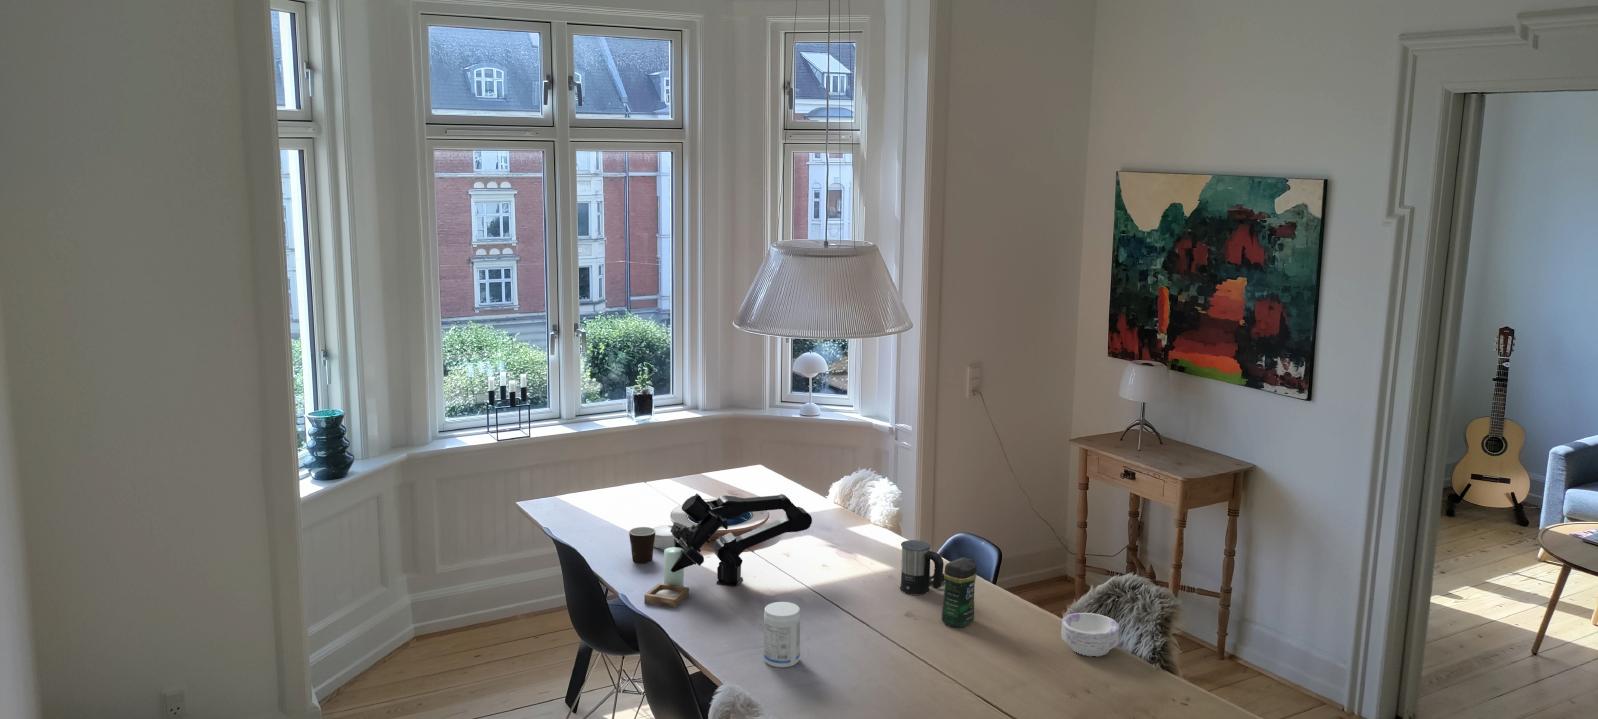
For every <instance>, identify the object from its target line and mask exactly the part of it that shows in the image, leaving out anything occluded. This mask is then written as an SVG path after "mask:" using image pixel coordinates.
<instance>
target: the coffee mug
mask: <svg viewBox="0 0 1598 719" xmlns="http://www.w3.org/2000/svg"><path fill="white" fill-rule="evenodd" d="M653 528H654V527H648V526H638V527H633V528H631V529H630V530H628V536H629V542H630V550H631V558H632V562H633V563H634V564H640V565H642V564H649V563H651V562H652V561H653V558H654V548H655V546H654V540H655V532H656V531H655V529H653Z"/></svg>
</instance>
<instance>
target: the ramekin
mask: <svg viewBox="0 0 1598 719" xmlns="http://www.w3.org/2000/svg"><path fill="white" fill-rule="evenodd" d="M672 526H673V524H671V525H670V524H668V525H667V524H664V525H658V526H657V525H656V526H654V527H652V528H653V529H655V531H656V532H655V540H654V548H656V549H661V550H665V549H667V548H671V547H674V539H675V540H677V538H675V537H674V535H672V532H670V531H671V528H672Z"/></svg>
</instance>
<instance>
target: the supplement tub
mask: <svg viewBox="0 0 1598 719" xmlns="http://www.w3.org/2000/svg"><path fill="white" fill-rule="evenodd" d="M800 610H801V608H800V607H799V605H797V604H796V603H792V602H788V601H777V602H772V603H768V604H767V605H766V606H765V607H764V613H763V660H764V661H765V663H766V664H768V665H769V666H772V667H774V668H790V667H793V666H794V665H797V663H798V662H799V661H800V658H801V657H800V656H801V613H800V612H801V611H800Z"/></svg>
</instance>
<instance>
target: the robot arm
mask: <svg viewBox="0 0 1598 719" xmlns="http://www.w3.org/2000/svg"><path fill="white" fill-rule="evenodd" d="M776 510H783V512H785V513H783V515H782V516H781V517H780V518H779V519H777V520H775V521H771V522H769V523H767V524H765V525H761V526H760V527H758V528H757V527H756V528H755V529H751V530H749V531H747V532H745V533H742V534H739V535H734V533H732V532H728V533H726V534H724V535H720V536H718V538H717V539H715V540H714V542H713V544H712V551H713V553H714V555H715V556H716V557H717V559H718V560H720V561H719V562H718V566H717V567H716V568H717V570H716V571H717V578H716V579H717V580H716V584H719V585H725V586H731V587H732V586H733V587H736V586H738V585H739V583H741V582H742V580H744V578H743V577H742V564H743V560H744V559H742V558H741V557H740V555H741V554H742V553H743V552H745V550H747V549H749V548H752V547H754V546H757V545H760V544H762V543H764V542H767V541H769V540H771V539H774V538H776V537H778V536H780V535H784V534H786V533H798V532H802V531H806V530H809V529H810V527H811V525H812V524H813V518H812V515H810V513H809V512H807V511H806V509H804V508H803V507H800V506H796V505H795V503H793V502H792V500H791V499H790V498H789V497H788V496H786V495H785V494H783V493H780V494H778V495H765V496H754V497H740V496H735V495H734V496H733V495H725V494H724V495H721V496H719V497H718V498H717V499H713V500H707V501H705V500H704V499H703V498H702V497H701V496H700V494H699V493H696V494H694V495H692V496H690V497H689V498H687V499H686V500H685V501H684V502H683V503H682V506H681V511H682V512H684V513H685V514H686V515H687V516H688V517H689V518H690V519H691V520H692V521H694V522H697V524H692V525H691V526H690V527H689V526H687V525H685V524H682V523H680V522H677V521H674V522H673V524H672V528H671V531H670V532H672V535H674V537H675V538H677V540H675V539H674V547H678V548H682V549H683V550H684V551H683V550H682V549H681V556H680V557H679V559H678V560H677V562H676V563H675V564H674V566H673V567H672V569H671V571H672V572H676V571H678V570H681V569H683V568H684V569H685V568H688V567H691V566H693V565H697V566H699V567H700V566H701V565H702V564H703V563H704V562H705V557H704V555H703V554H702V553H701V551H702V549H701V548H703V547H704V545H705V544H706V543H707V544H709V543H710V542H711V539H710V538H712V536H713V535H714V534H715V533H717V531H719V529H720V528H721V527H722V528H724V529H725V530H728V529H729V528H728V524H729V523H728V522H729V521H728V520H729V519H733V518H734V519H735V518H738V517H740V516H742V515H744V514H747V513H754V512H766V511H776Z"/></svg>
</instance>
